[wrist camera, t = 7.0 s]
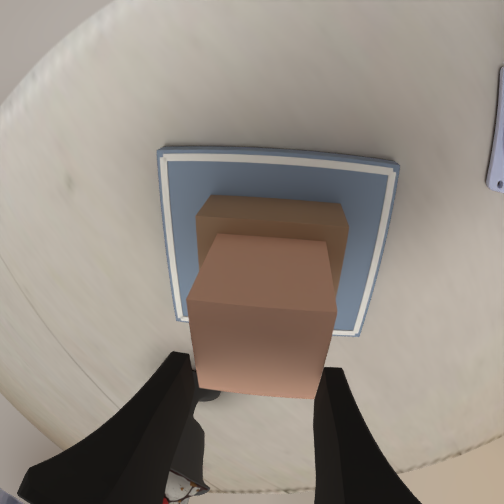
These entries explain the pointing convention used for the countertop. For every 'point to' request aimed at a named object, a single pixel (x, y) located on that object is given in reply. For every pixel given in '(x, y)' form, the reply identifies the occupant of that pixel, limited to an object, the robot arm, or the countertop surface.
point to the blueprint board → (285, 186)
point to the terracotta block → (262, 315)
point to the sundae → (189, 454)
